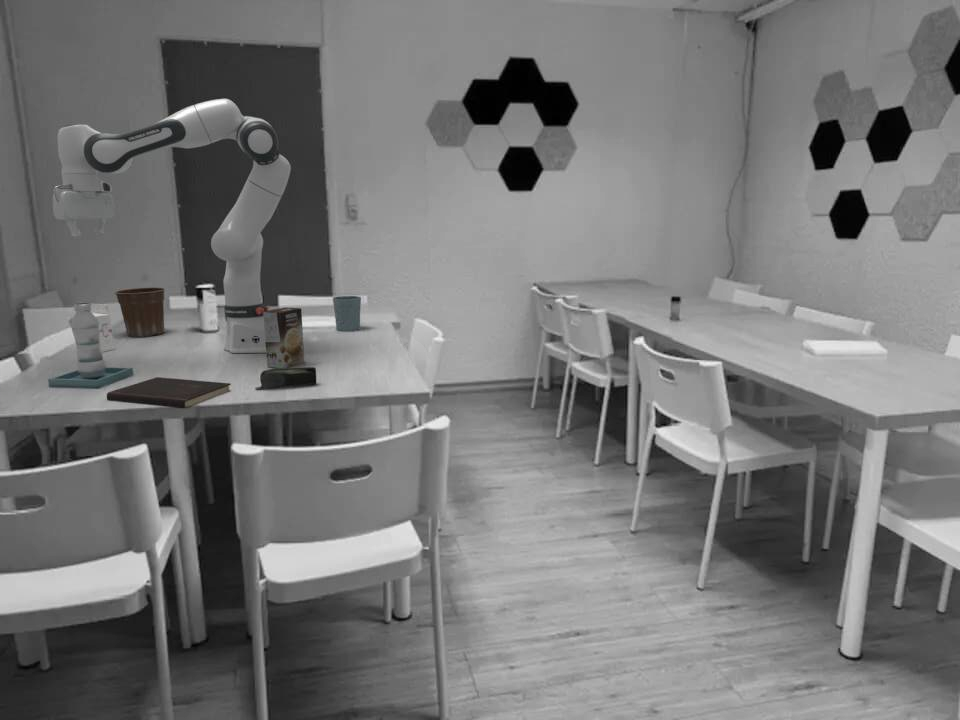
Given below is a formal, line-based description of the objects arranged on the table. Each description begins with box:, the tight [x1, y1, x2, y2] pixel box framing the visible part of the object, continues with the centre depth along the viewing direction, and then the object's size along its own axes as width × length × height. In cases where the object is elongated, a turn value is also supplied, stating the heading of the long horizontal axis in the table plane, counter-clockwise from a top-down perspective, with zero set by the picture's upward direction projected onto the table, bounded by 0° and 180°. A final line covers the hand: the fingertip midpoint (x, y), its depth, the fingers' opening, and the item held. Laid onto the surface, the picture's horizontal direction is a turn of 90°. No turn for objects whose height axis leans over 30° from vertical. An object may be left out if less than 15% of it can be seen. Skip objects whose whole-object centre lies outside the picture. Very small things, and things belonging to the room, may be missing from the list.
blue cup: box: [332, 295, 362, 333], centre depth 250 cm, size 10×10×12 cm
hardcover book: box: [106, 376, 232, 409], centre depth 165 cm, size 16×23×2 cm
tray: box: [47, 366, 134, 389], centre depth 180 cm, size 14×14×2 cm
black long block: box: [254, 366, 317, 391], centre depth 171 cm, size 5×3×15 cm
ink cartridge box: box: [90, 303, 115, 353], centre depth 218 cm, size 9×5×15 cm, turn 65°
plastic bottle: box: [70, 302, 107, 379], centre depth 178 cm, size 6×7×20 cm
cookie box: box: [263, 307, 306, 369], centre depth 194 cm, size 9×6×16 cm
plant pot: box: [114, 287, 166, 338], centre depth 244 cm, size 16×16×16 cm
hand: (88, 235), depth 193 cm, fingers open, 8 cm apart
